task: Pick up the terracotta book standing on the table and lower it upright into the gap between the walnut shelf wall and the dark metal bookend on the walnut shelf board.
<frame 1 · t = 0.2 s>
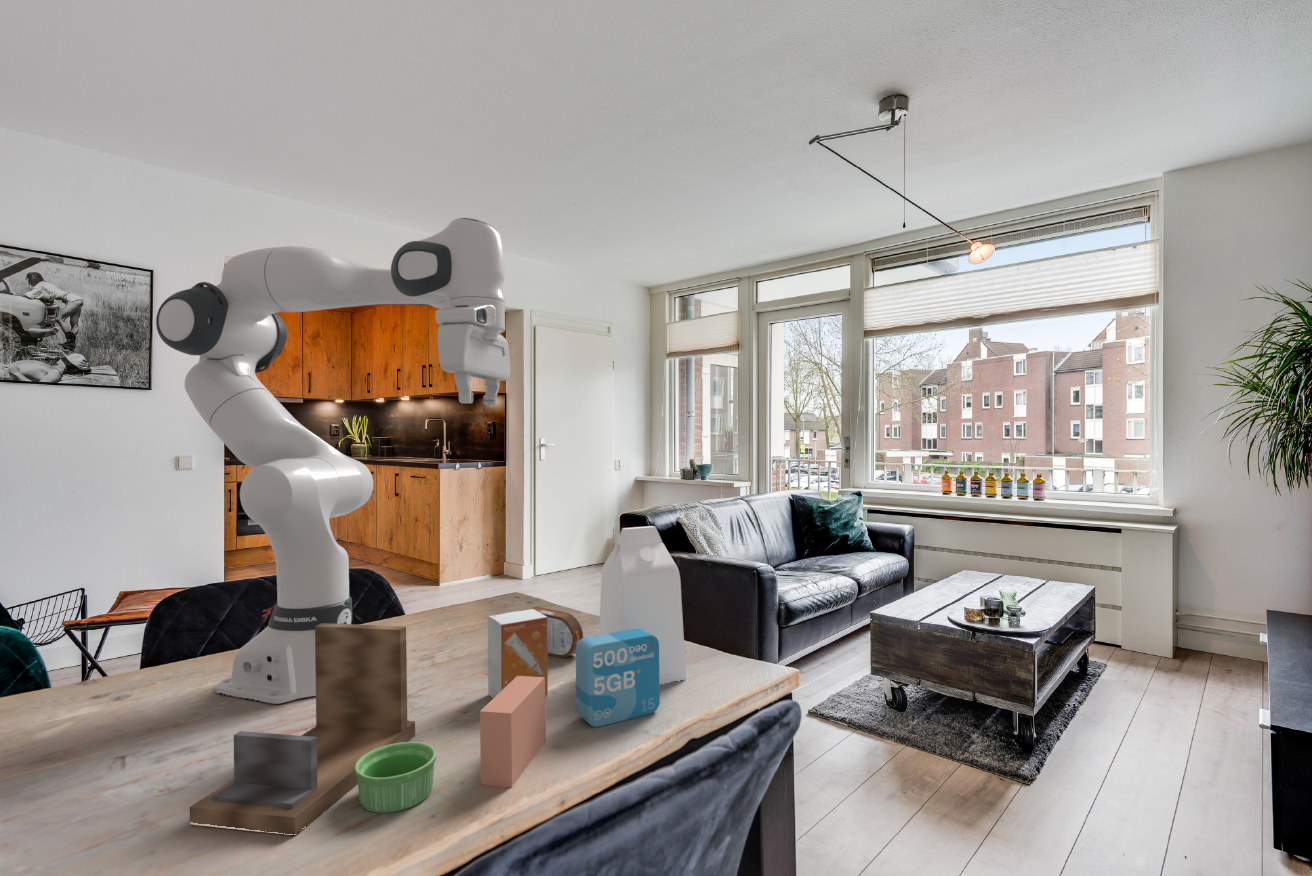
hand: (478, 404, 109), 48 cm above the table, tool pointing down, fingers open, 8 cm apart
shelf stand: (322, 770, 84), on the table
tin: (549, 654, 129), on the table
milk: (640, 676, 117), on the table
ramekin: (396, 797, 79), on the table
data package: (618, 716, 100), on the table
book: (515, 762, 86), on the table
small box: (518, 696, 108), on the table
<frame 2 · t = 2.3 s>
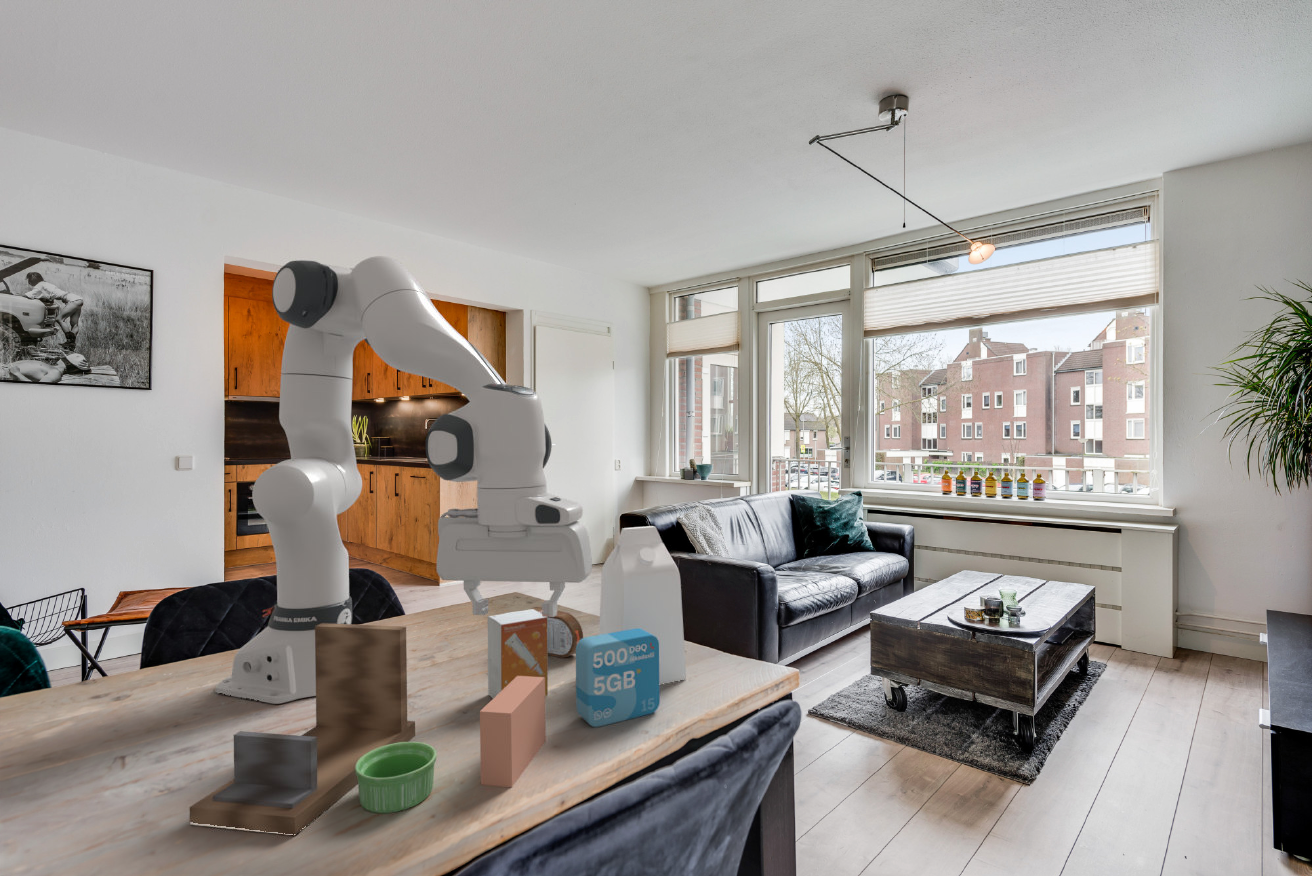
hand: (515, 614, 86), 19 cm above the table, tool pointing down, fingers open, 8 cm apart
nothing on the table moved.
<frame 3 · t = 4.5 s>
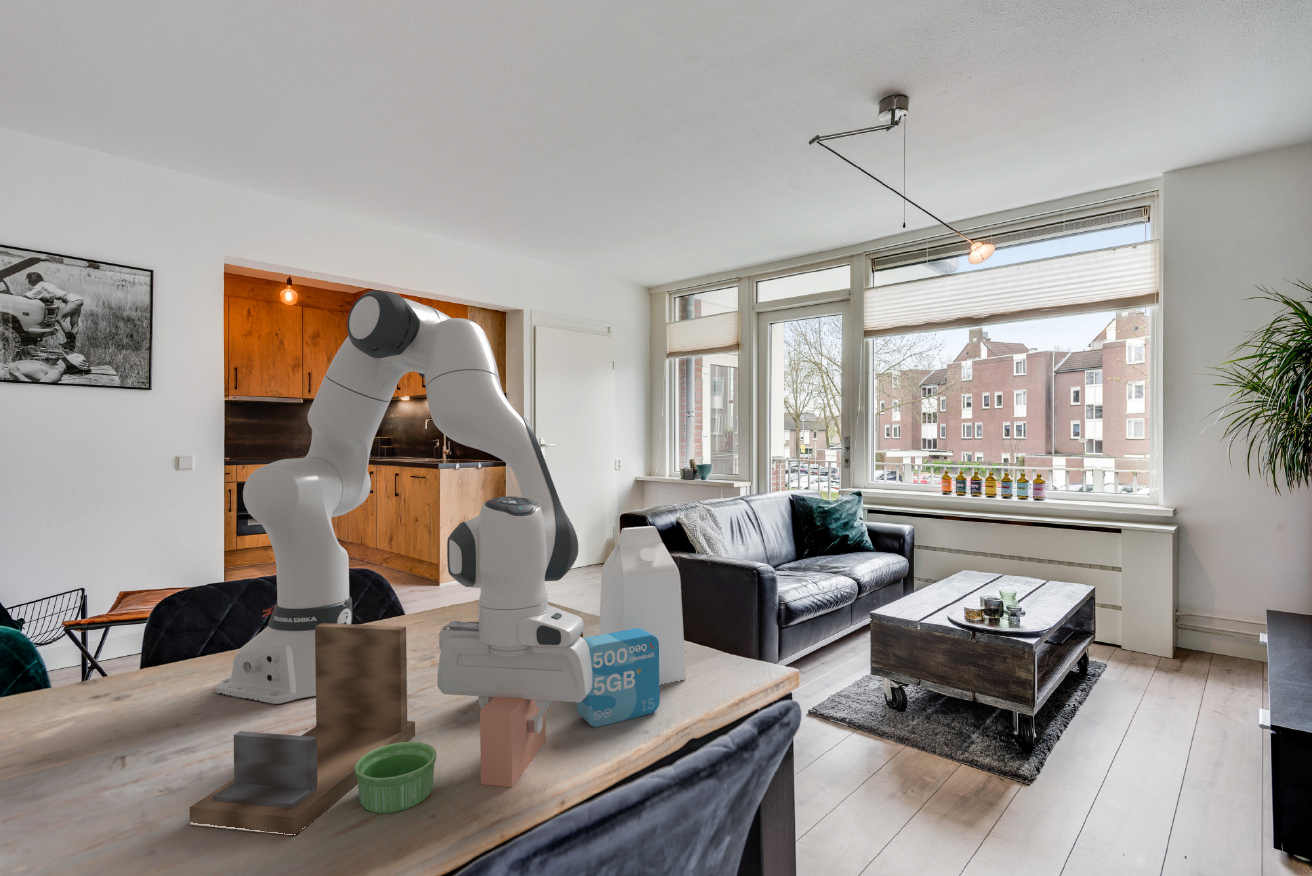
hand: (515, 729, 86), 4 cm above the table, tool pointing down, fingers closed on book, 4 cm apart
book: (515, 761, 86), on the table, touching gripper
everything else where it was.
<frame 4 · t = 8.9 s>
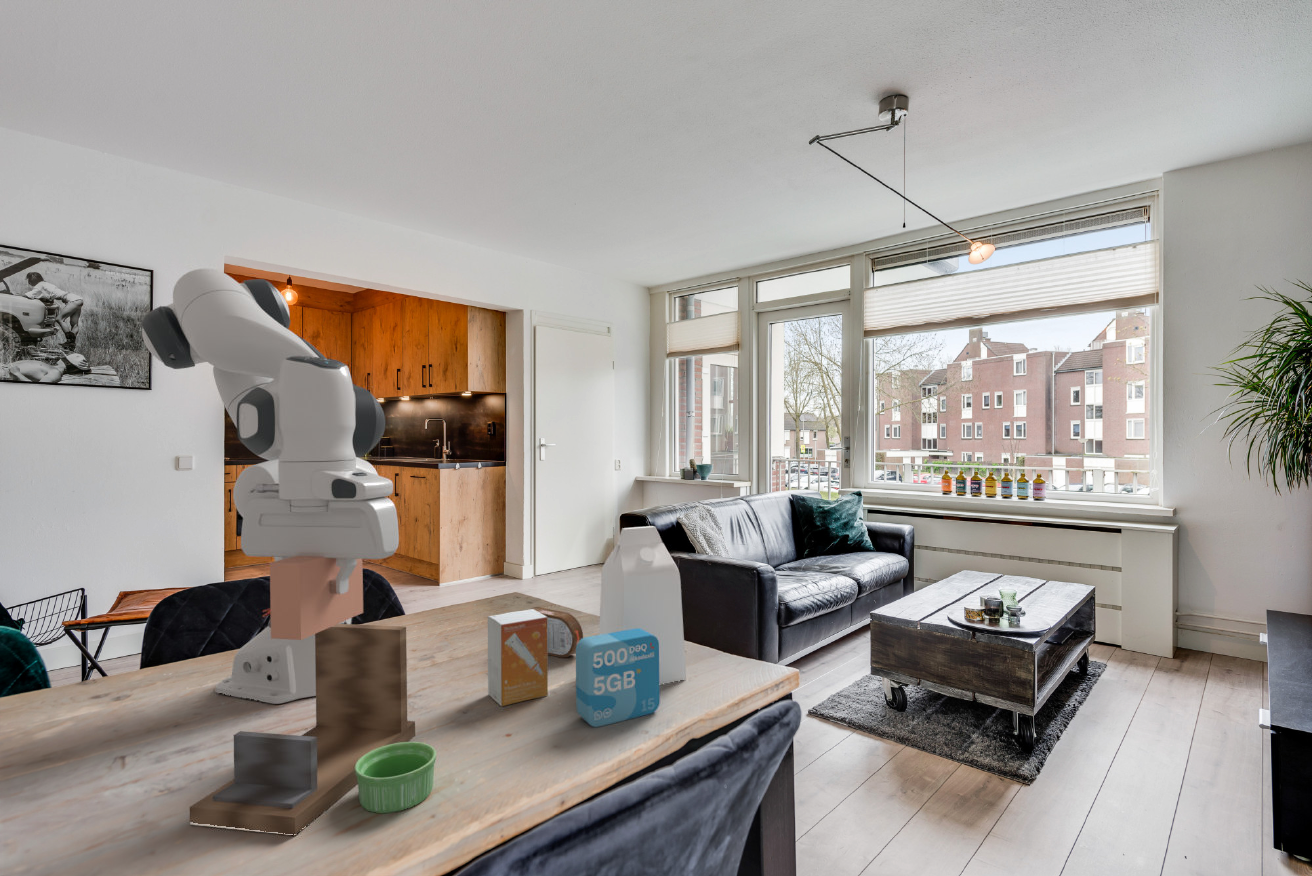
hand: (320, 592, 84), 23 cm above the table, tool pointing down, fingers closed on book, 4 cm apart
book: (320, 624, 84), point 19 cm above the table, touching gripper
everything else where it was.
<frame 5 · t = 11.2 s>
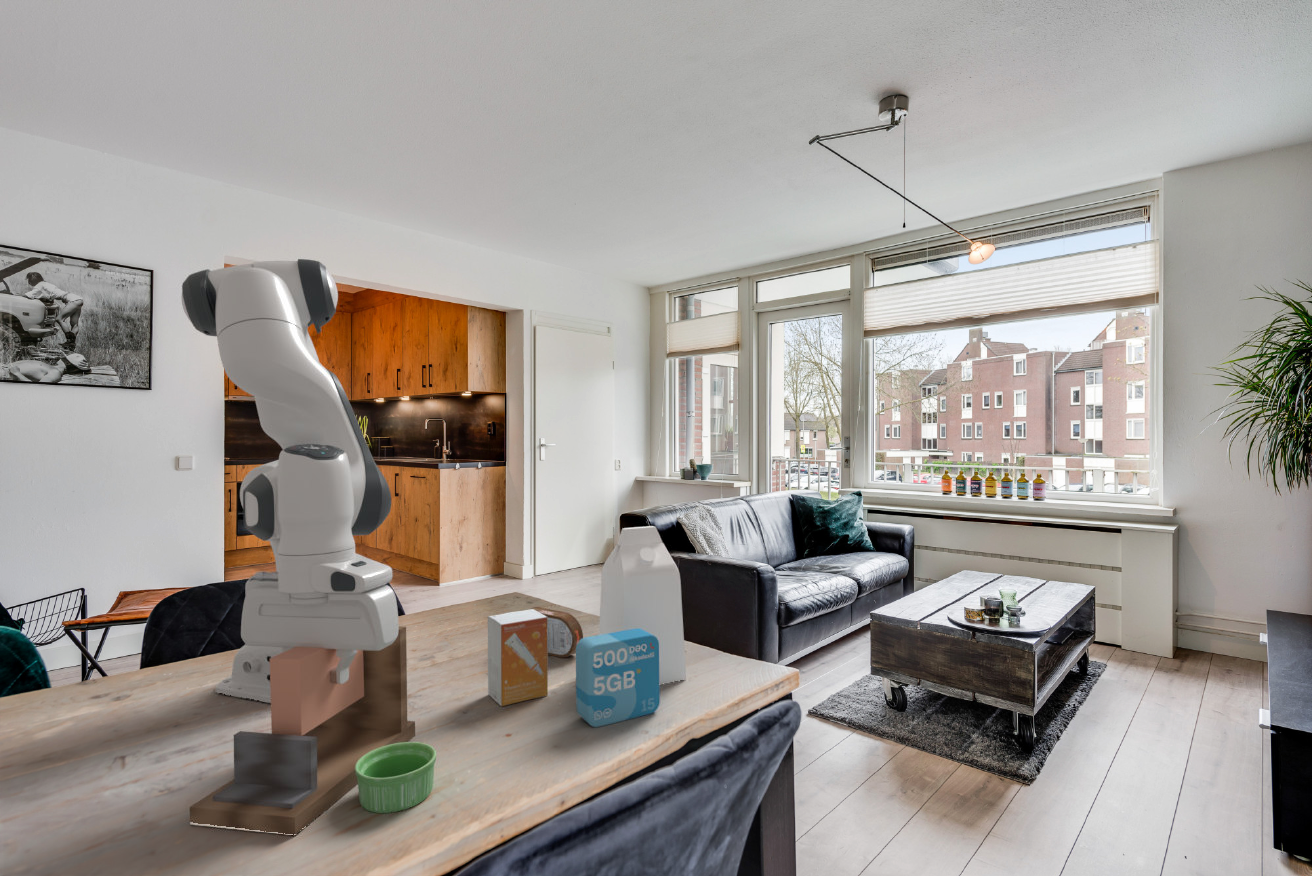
hand: (320, 681, 84), 11 cm above the table, tool pointing down, fingers closed on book, 4 cm apart
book: (321, 713, 84), point 7 cm above the table, touching gripper
everything else where it was.
when the fingers open (7 cm above the table, at t = 13.2 s): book stays where it is, resting on shelf stand.
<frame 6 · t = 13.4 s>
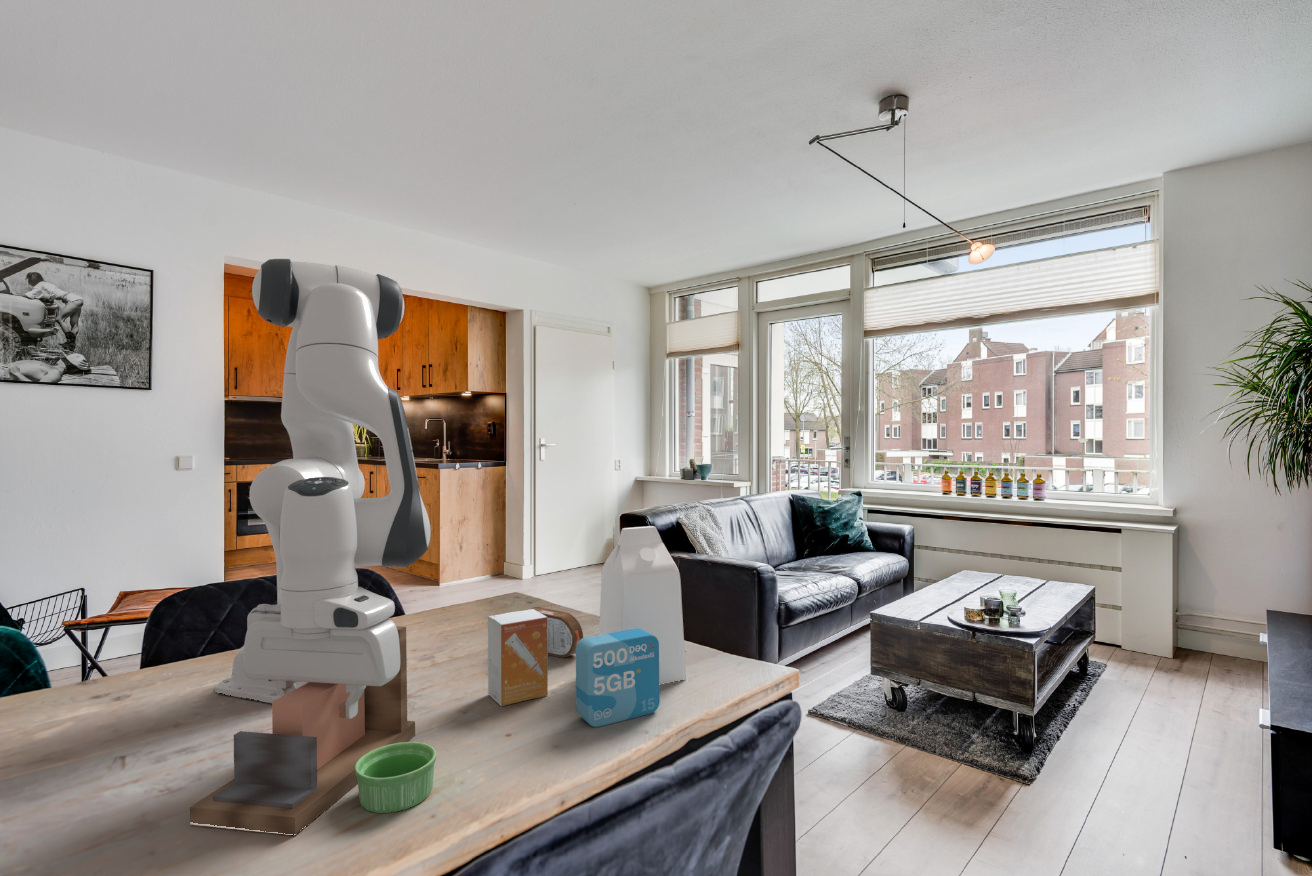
hand: (321, 714, 84), 7 cm above the table, tool pointing down, fingers open, 6 cm apart
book: (322, 754, 85), point 2 cm above the table, touching shelf stand
everything else where it was.
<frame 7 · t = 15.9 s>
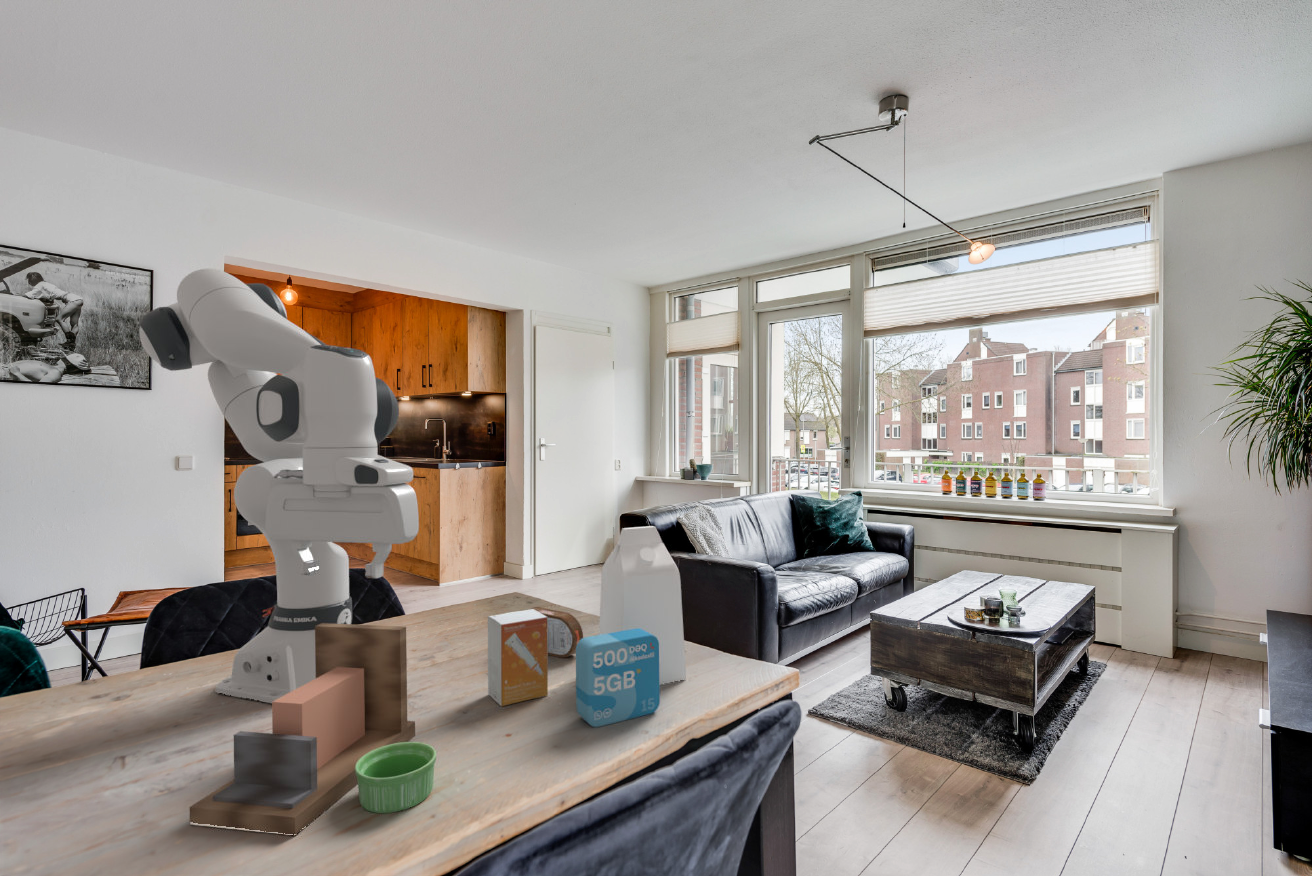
hand: (341, 576, 86), 24 cm above the table, tool pointing down, fingers open, 8 cm apart
nothing on the table moved.
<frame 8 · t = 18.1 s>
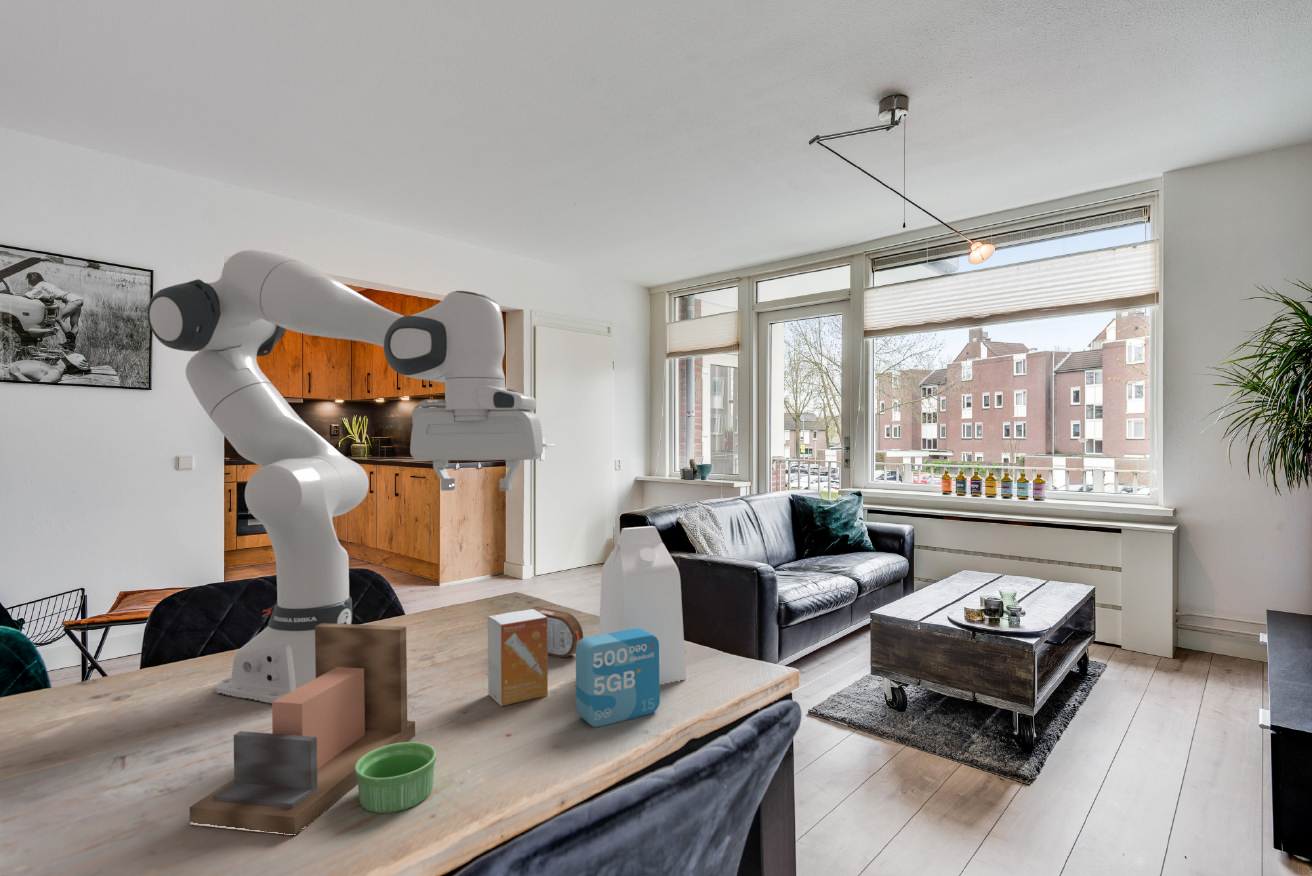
hand: (476, 490, 101), 34 cm above the table, tool pointing down, fingers open, 8 cm apart
nothing on the table moved.
at the end: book inside the target area on the shelf stand (0.1 cm from its centre), point 2.0 cm above the shelf stand's base; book tilted 0°; the gripper is holding nothing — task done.
